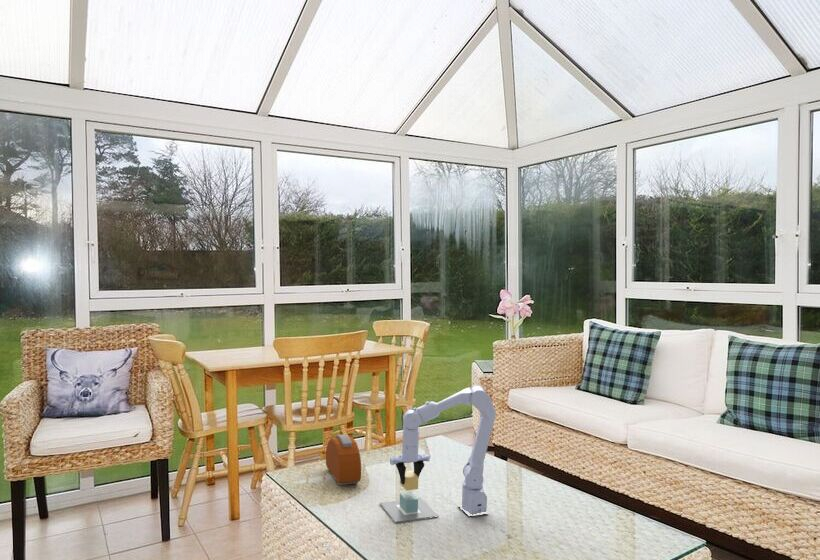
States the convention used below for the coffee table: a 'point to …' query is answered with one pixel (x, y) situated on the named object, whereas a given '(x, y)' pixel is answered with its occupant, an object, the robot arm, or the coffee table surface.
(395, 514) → the baseplate
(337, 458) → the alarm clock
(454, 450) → the coffee table surface
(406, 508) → the teal brick
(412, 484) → the ochre brick
